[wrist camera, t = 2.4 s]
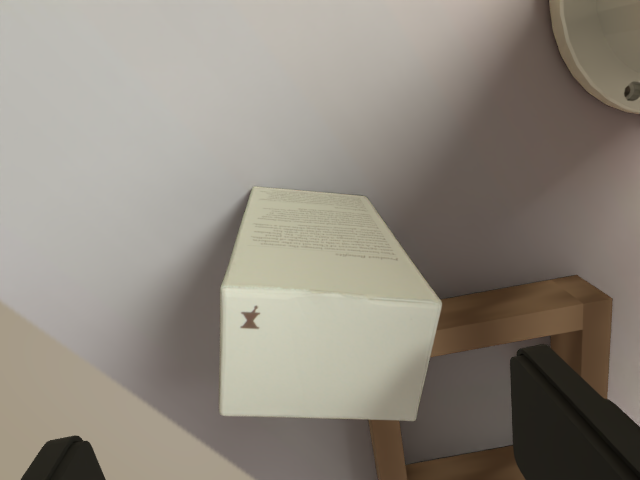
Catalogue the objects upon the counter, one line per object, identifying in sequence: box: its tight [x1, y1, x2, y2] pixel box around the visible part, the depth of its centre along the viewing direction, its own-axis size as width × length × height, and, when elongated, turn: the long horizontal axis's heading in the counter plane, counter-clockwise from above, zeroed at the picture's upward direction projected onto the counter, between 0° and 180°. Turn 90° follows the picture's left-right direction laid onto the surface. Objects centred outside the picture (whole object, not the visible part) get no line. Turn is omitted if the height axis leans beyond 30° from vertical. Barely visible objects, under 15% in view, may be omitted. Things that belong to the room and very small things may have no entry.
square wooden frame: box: [368, 275, 613, 480], centre depth 26 cm, size 13×13×3 cm
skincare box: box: [219, 187, 442, 421], centre depth 18 cm, size 6×4×12 cm
